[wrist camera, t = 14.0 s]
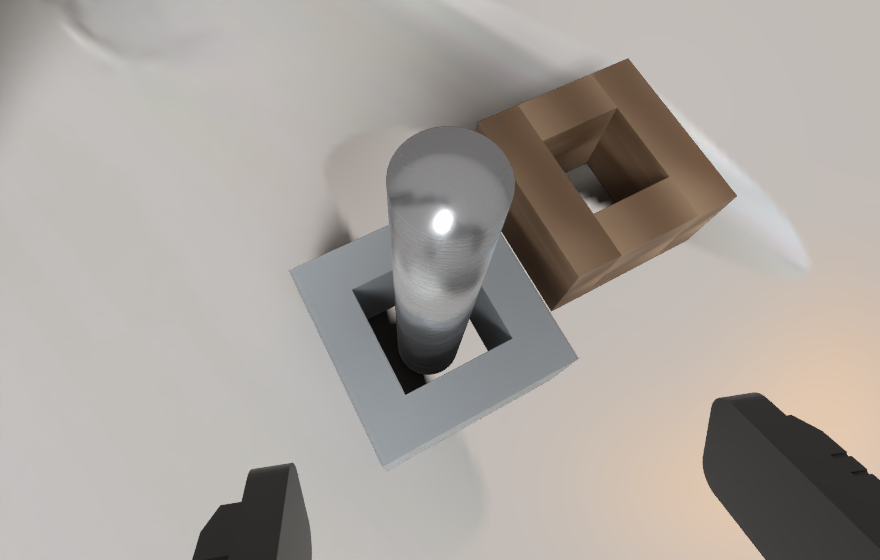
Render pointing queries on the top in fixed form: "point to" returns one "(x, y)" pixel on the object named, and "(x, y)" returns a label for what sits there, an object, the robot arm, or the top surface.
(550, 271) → the wooden square frame
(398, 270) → the steel axle
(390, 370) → the socket block
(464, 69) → the top surface
